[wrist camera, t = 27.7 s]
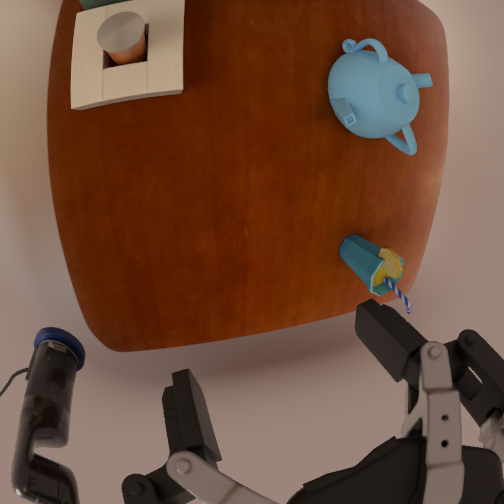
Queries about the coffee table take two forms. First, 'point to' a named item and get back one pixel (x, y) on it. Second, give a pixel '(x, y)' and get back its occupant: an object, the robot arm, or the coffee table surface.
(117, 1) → the green upright block
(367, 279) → the cup
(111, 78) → the hollow square tile
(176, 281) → the coffee table surface
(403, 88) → the teapot
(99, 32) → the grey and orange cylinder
